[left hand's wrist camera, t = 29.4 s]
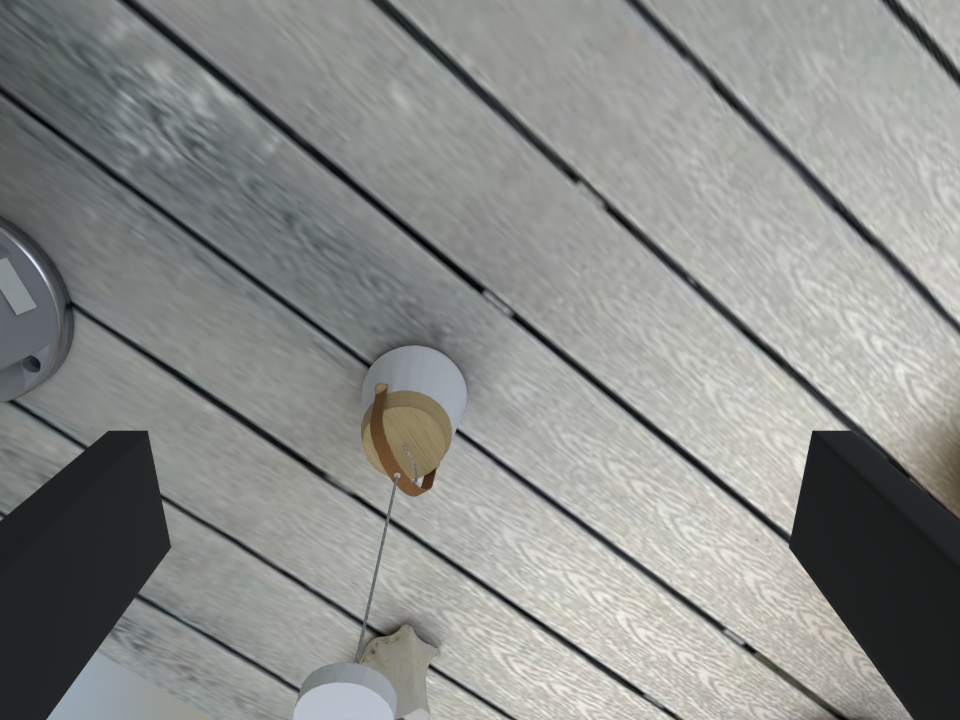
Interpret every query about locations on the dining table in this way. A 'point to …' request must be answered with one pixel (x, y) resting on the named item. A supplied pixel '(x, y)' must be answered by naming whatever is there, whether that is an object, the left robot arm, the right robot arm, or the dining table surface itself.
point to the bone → (403, 669)
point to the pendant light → (401, 456)
